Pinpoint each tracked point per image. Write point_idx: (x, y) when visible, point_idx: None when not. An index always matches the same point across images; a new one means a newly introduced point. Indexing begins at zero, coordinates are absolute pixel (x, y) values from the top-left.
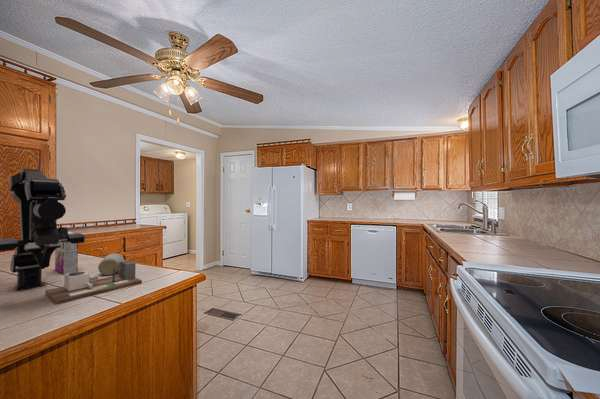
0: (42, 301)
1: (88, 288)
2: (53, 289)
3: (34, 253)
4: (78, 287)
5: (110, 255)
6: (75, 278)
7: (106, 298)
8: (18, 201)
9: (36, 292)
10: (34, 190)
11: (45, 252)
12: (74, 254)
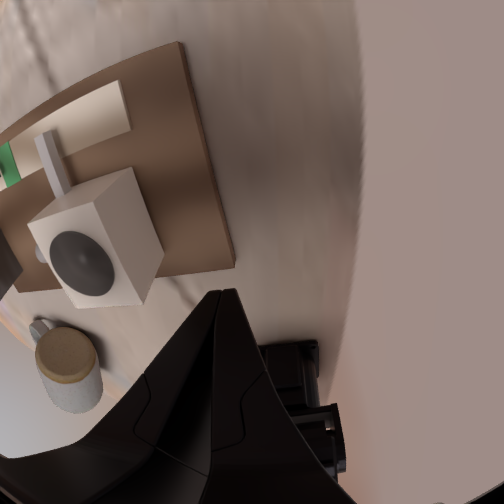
0: (237, 138)
1: (70, 174)
2: (205, 259)
3: (307, 465)
4: (95, 180)
5: (63, 401)
6: (76, 201)
7: (26, 33)
8: None
9: (266, 293)
10: None
11: (176, 462)
12: None
